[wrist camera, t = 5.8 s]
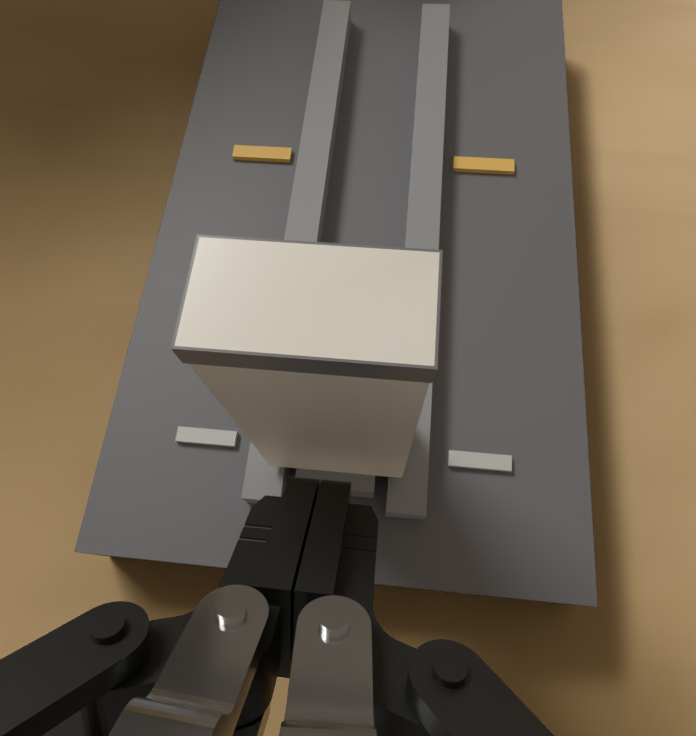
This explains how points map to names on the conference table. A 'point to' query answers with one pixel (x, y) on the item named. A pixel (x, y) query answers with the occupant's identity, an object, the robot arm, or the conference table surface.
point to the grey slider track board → (393, 229)
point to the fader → (315, 348)
